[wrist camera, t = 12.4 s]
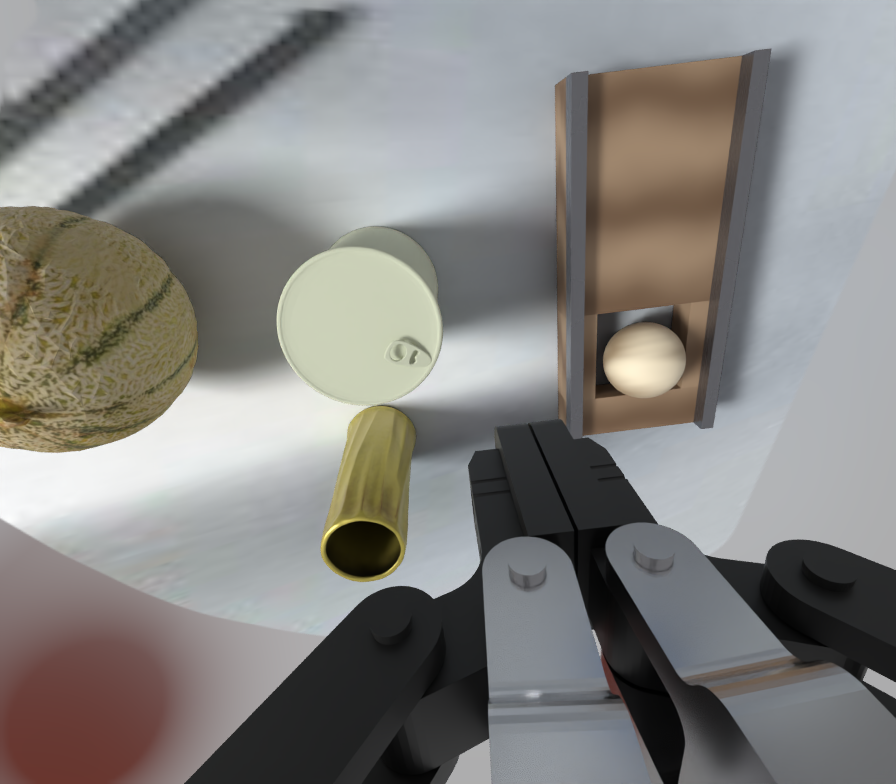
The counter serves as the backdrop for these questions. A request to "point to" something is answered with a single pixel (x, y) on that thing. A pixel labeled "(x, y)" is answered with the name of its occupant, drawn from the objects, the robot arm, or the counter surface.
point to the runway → (652, 224)
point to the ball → (644, 360)
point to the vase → (371, 497)
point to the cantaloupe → (85, 332)
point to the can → (363, 318)
